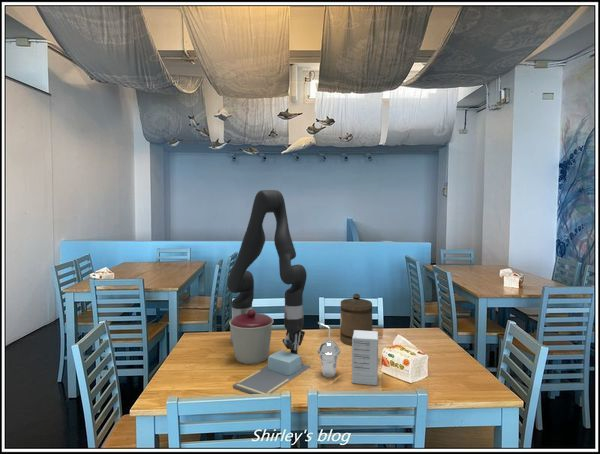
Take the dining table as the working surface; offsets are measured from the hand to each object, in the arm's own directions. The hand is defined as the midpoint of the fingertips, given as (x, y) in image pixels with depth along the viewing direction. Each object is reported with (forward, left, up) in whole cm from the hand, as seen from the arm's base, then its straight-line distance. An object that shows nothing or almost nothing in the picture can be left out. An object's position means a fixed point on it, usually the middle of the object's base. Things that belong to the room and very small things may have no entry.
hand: (294, 358), depth 159 cm
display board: (0, -13, -3) cm, 13 cm away
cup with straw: (+16, -1, -3) cm, 17 cm away
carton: (0, -6, -2) cm, 7 cm away
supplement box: (+28, +5, -3) cm, 29 cm away
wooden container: (+8, +39, -3) cm, 40 cm away
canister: (-18, -5, -3) cm, 19 cm away
